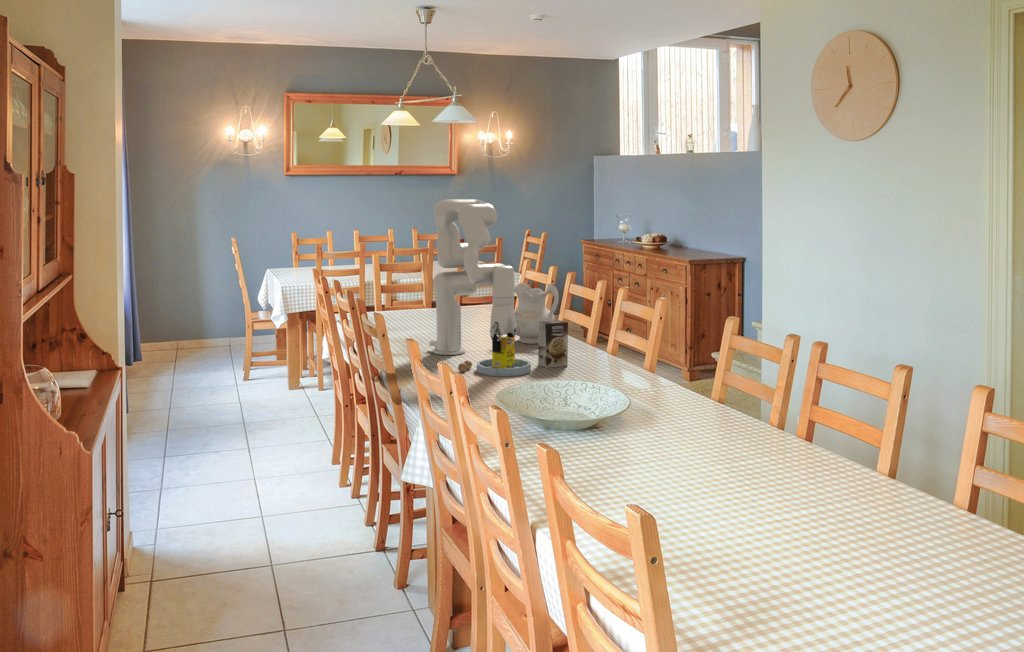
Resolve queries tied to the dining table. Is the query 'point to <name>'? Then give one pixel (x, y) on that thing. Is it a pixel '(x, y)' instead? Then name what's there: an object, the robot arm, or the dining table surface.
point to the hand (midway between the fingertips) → (503, 349)
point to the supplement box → (505, 354)
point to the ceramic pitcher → (532, 311)
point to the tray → (486, 368)
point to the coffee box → (553, 344)
